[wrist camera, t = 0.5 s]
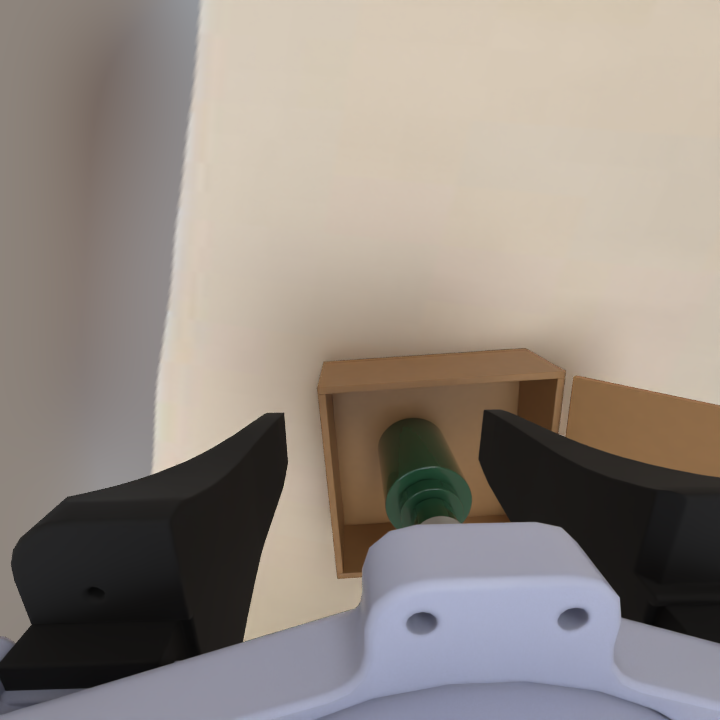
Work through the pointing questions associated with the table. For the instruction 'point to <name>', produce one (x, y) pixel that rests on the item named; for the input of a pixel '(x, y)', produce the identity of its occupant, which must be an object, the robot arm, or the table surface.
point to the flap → (646, 426)
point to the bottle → (421, 476)
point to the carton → (426, 401)
